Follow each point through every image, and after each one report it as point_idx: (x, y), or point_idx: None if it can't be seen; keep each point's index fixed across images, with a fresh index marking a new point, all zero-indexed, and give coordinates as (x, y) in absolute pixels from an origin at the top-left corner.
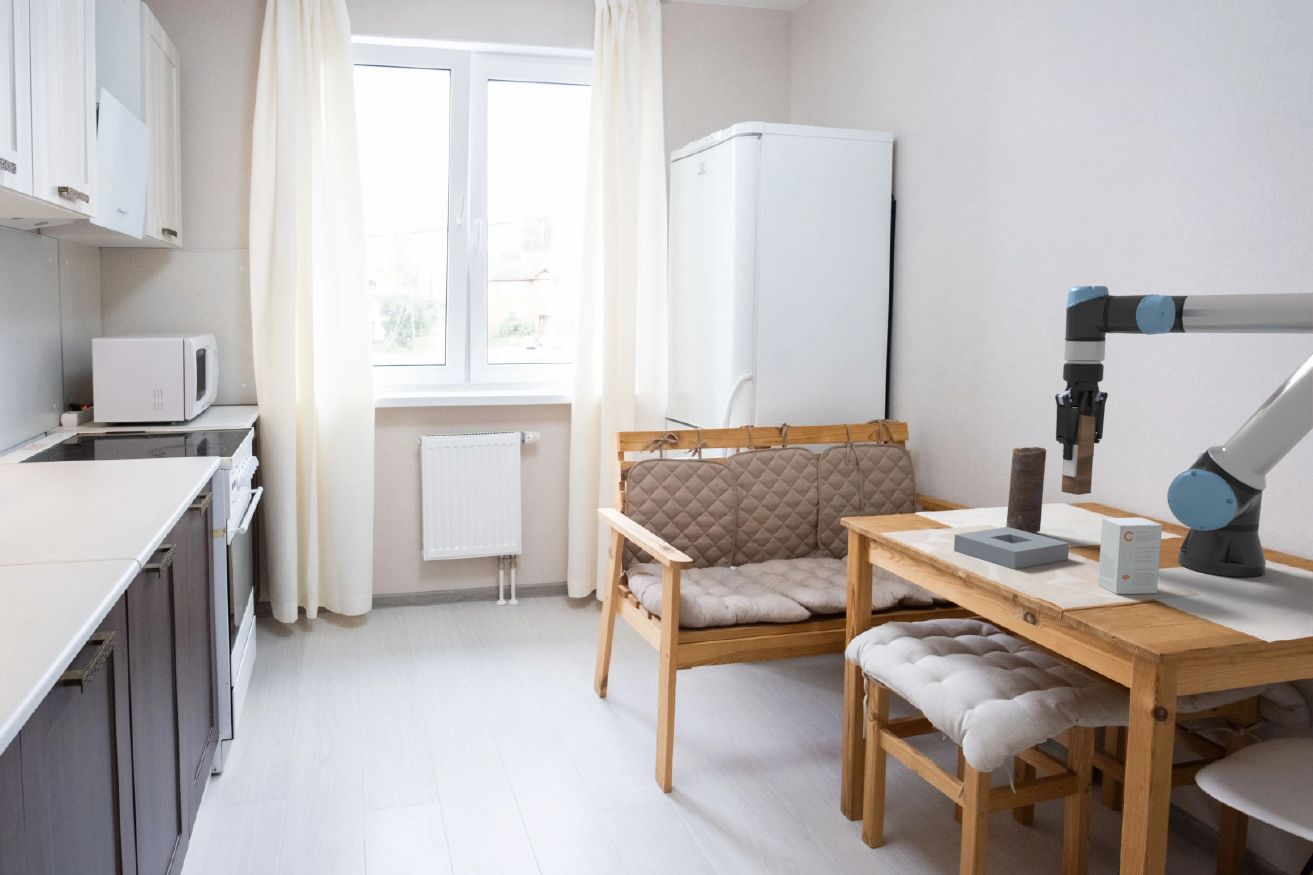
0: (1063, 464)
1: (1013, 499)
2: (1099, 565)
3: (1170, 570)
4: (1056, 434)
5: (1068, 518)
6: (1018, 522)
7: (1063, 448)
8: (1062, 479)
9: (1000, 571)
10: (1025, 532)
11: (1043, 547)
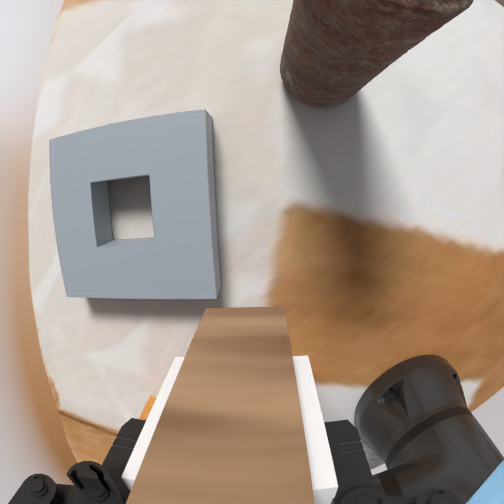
0: (161, 387)
1: (287, 34)
2: (140, 414)
3: (328, 395)
4: (13, 500)
5: (487, 64)
6: (285, 76)
7: (103, 463)
8: (196, 332)
9: (59, 284)
10: (199, 175)
11: (134, 298)
